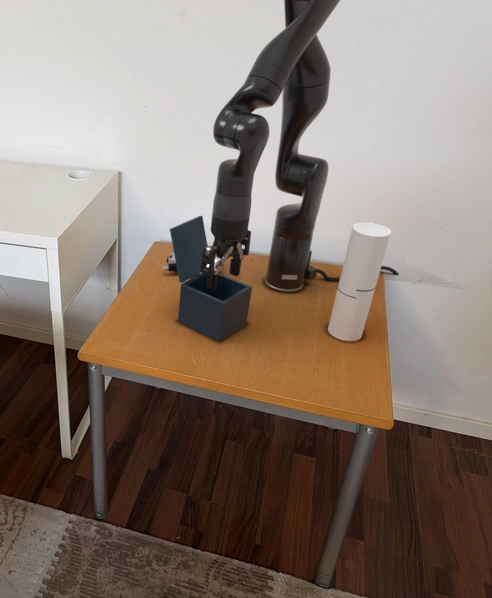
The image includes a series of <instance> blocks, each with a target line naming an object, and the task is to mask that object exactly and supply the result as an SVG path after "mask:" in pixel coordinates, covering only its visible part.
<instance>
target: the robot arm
mask: <svg viewBox="0 0 492 598" xmlns="http://www.w3.org/2000/svg"><path fill="white" fill-rule="evenodd" d="M340 2H341V0H283V6H284V7H283V8H284V9H283V10H284V29H283V30H281V32H279V33H278V34H277V35H276V36H274V37H273V38H272V39H271V40H270V41H269V42H268V43H267V44H266V45H265V46H264V47H263V49H262V50H261V52H260V53H259V54H258V56H257V57H256V59H255V61H254V63H253V65H252V67H251V69H250V71H249V73H248V75H247V77H246V78H245V81H244V83H243V84H242V85H241V87H240V88H239V89H238V90H237V91H236V92H235V93H234V95H233V96H232V97H231V98H230V100H228V101H227V103H226V104H225V105H224V107H223V108H222V109H220V111H219V113H218V114H217V116H216V118H215V120H214V123H213V127H212V136H213V139H214V142H215V143H216V144H217V145H219V146H221V147H224V148H227V149H231V150H235V151H239V152H238V157H237V158H232V159H231V158H229V159H225V160H223V161H222V162H221V163H220V164H219V165H218V169H217V175H216V184H215V185H216V186H215V193H214V197H213V203H212V211H211V213H212V214H211V220H210V221H211V223H210V232H211V234H212V235H213V238H214V239H213V242H212V245H208V244H207V245H205V246H204V248H203V254H202V261H201V269H200V271H201V272H203V273H206V274H207V278H206V286H207V288H210V289H212V290H214V289H216V287H217V278H218V272H219V270H220V268H221V266H222V267H224V266H225V264H226V262H227V260H228V259H229V258H230V263H229V275H232V276H234V277H238V276H240V273H241V267H242V261H244V259H245V256H249V254H250V249H251V247H250V246H251V238H252V231H251V230H249V224H250V217H251V210H252V193H253V186H254V177H255V173H256V170H257V167H258V165H259V162H260V160H261V158H262V155H263V153H264V150H265V149H266V146H267V143H268V141H269V138H270V125H269V122H268V120H267V119H266V117H265V116H263V115H261V114H259V113H258V114H257V113H253V112H255V111H256V110H259V109H265V108H271V107H273V106H274V105H275V104H276V103H277V101H278V100H279V98H280V96H282V97H281V102H282V103H281V121H280V122H281V124H280V135H279V137H280V138H279V143H278V151H277V157H276V164H275V173H274V180H275V181H274V182H275V187H276V189H277V190H278V191H280V192H282V193H285V194H288V195H293V196H296V197H302V198H301V202H299V203H290V204H289V203H288V204H285V205H281V206H280V207H279V208H278V209H277V210H276V214H275V220H274V225H273V231H272V239H271V245H270V251H269V257H268V263H267V268H266V274H265V277H264V283H265V285H266V286H267V287H268V288H270V289H271V290H274V291H276V292H281V293H296V292H300V291H301V290H302V289H303V287H304V285H306V283H307V281H311V280H314V279H316V278H317V274H320V275H321V276H322V277H323V279H325V280H327V281H330V282H339V281H340V277H341V276H339V277H332V276H329V275H327V273H326V272H325V271H324V270H322V269H319V268H317V267H314V266H312V265H310V264H311V259H312V254H313V251H312V249H311V246H312V241H313V237H314V232H315V227H316V223H317V218H318V215H319V211H320V207H321V203H322V199H323V195H324V192H325V187H326V184H327V180H328V176H329V163H328V161H327V160H326V159H324V158H321V157H316V156H311V155H305V154H301V153H300V152H299V145H300V142H301V139H302V137H303V135H304V133H305V132H306V130H307V129H308V128H309V127H310V125H312V123H313V122H314V121H315V120H316V118H318V116H319V115H320V114H321V112H322V111H323V110H324V108H325V106H326V104H327V102H328V99H329V91H330V84H331V82H330V81H331V65H330V62H329V59H328V56H327V54H326V51H325V49H324V47H323V45H322V42H321V40H320V39H319V37H318V33H319V31H321V29H322V28H323V26H324V25H325V23H326V21H328V19H329V17H330V16H331V15H332V13H333V11H334V10H335V9H336V7H337V6H338V4H339V3H340ZM243 246H244V248H243ZM215 256H217V257H218V258H220V259H221V260H217V259H215ZM206 263H207V264H208V265H207V267H206ZM214 263H216V264H217V265H216V267H215V269H214ZM381 270H383V271H388V272H389V273H392V274H393V275H395V276H399V274H400V273H399V272H398V271H397V270H396V269H394V268H393V267H390V266H387V265H386V266H385V265H382V266H381ZM219 273H220V272H219Z"/></svg>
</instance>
